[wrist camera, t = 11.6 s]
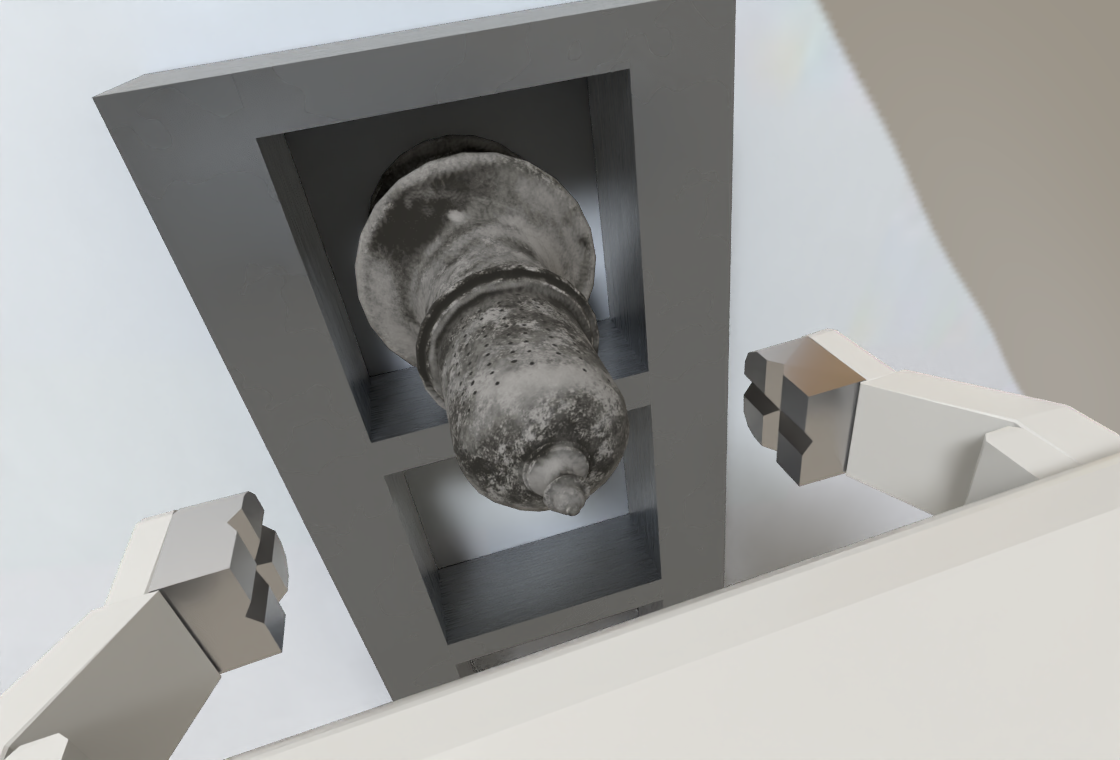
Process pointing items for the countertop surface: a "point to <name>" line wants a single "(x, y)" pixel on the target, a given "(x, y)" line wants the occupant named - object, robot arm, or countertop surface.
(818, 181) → the countertop surface
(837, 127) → the countertop surface
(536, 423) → the grey stone finial
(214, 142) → the grey rectangular frame piece
